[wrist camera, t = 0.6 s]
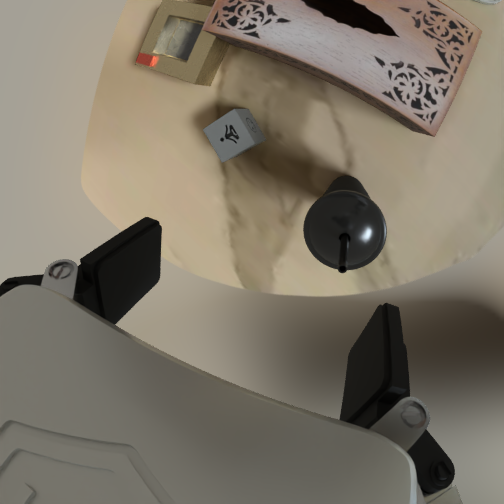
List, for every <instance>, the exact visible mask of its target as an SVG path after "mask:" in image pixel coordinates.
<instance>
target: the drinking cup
mask: <svg viewBox="0 0 504 504" xmlns="http://www.w3.org/2000/svg"><path fill="white" fill-rule="evenodd" d="M303 231H304V238H305V242H306V245H307V247H308V249H309V250H310V252H311V253H312V254H313V256H314V257H315V258H316V259H317V260H319V261H320V262H321V263H323V264H325V265H326V266H329V267H331V268H334V269H338V271H339V272H340V273H345V272H346V271H347V270H353V269H358V268H361V267H363V266H365V265H367V264H369V263H370V262H372V261H373V260H374V259H375V258H376V257H377V256H378V255H379V253H380V252H381V250H382V249H383V246H384V244H385V241H386V234H387V228H386V222H385V219H384V216H383V214H382V212H381V210H380V208H379V207H378V206H377V205H376V204H375V203H374V202H373V201H372V200H371V199H370V197H369V195H368V194H367V192H366V190H365V189H364V187H363V186H362V184H361V183H360V182H359V181H358V180H357V179H356V178H354V177H351V176H342V177H339V178H337V179H336V180H335V181H334V182H333V183H332V184H331V185H330V187H329V188H328V190H327V191H326V192H325V194H324V195H323V196H322V197H320V198H319V199H318V200H317V201H316V202H315V203H314V204H313V205H312V206H311V208H310V209H309V211H308V213H307V215H306V217H305V221H304V228H303Z"/></svg>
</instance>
